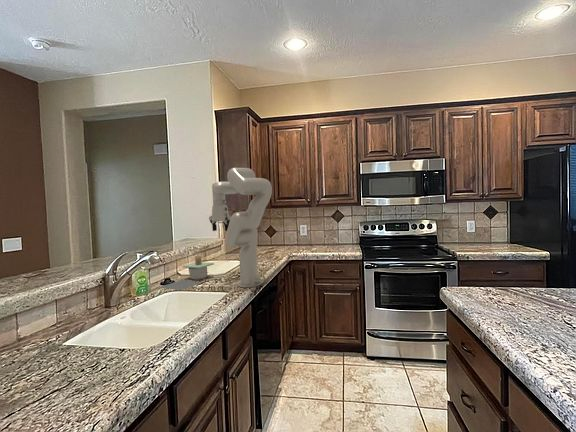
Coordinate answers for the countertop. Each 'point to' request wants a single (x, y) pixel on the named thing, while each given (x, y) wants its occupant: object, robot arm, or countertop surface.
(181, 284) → the mat
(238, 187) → the robot arm
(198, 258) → the lid
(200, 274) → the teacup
